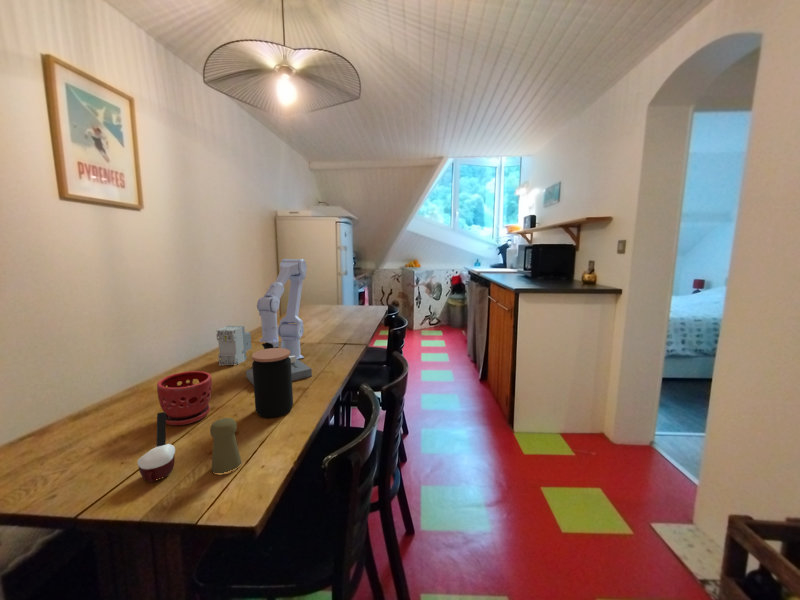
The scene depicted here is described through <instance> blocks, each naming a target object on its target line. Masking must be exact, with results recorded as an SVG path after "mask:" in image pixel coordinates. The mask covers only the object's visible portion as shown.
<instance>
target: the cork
mask: <svg viewBox="0 0 800 600" xmlns="http://www.w3.org/2000/svg"><path fill="white" fill-rule="evenodd" d="M237 426H238V425H237V422H236V420H235V419H234V418H232V417H223V418H220V419H218V420H215V421H214V422H213V423H212V424H211V426H210V428H209V433H210V436H211V437H212V438H213V442H212V443H213V444H212V458H211V459H212V460H211V472H212V471H213V472H214V473H224V472H228V471H230V470H233V469H235V468H237V467H238V466H239V465H240V464H241V462H242V459H241V455H240V450H239V447H238V442H237V439H236V434H235V433H236V432H237ZM241 465H242V464H241Z"/></svg>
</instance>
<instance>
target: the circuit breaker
mask: <svg viewBox="0 0 800 600" xmlns="http://www.w3.org/2000/svg"><path fill="white" fill-rule="evenodd" d="M245 329H246V328H245V326H244V325H243V326H242V325H226V326H224V327H221V328H219V329H216V335H215V336H216V341H217V342H218V352H219V353H218V355H217V357H218V358H217V360H218V362H219V364H218V366H224V365H234V364H235V365H237V364H238V365H240V364H241V362H242V363H244V362H245V361H247V360H248V359H247V358H248V357H247V351H249V350H251V349H252V335H251V334H252V333H251V331H245ZM246 359H247V360H246ZM239 363H240V364H239ZM238 365H237V366H238Z"/></svg>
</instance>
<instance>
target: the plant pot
mask: <svg viewBox="0 0 800 600" xmlns="http://www.w3.org/2000/svg"><path fill="white" fill-rule="evenodd" d="M194 380H198V383H196V384H194V383H193V382H194ZM187 381H189V382H187ZM212 381H213V380H212V374H210V373H209V372H207V371H201V370H193V371H184V372H183V371H182V372H177V373H174V374H169V375H167V376H165V377H163V378H161V379H159V381H158V382H157V384H156V392H157V396H158V403H159V405H160V408H161V410H162V411H163V412H165V413H166V424H168V425H171V426H183V425H188V424H193V423H196V422H198V421H200V420H202V419H203V418H204V417H206V416H207V415H208V414H209V413H210V410H211V406H210V405H209V403H210V401H211V396H212V388H213V387H212V386H213V385H212V384H213V382H212ZM179 382H181V384H180V385H179V384H178V383H179Z"/></svg>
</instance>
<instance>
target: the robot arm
mask: <svg viewBox="0 0 800 600" xmlns="http://www.w3.org/2000/svg"><path fill="white" fill-rule="evenodd" d="M306 263H307V262H306V260H305V259H304V258H300V259H299V258H295V259H294V258H282V260H281V262H280V263H279V268H280V269H279V270H280V271H279V273H278V275H277V277H276V280H275V281H274V282H272V283H270V285H269V287H268V289H267V290H266V292H265V294H264V295H263V296H262V297H259V299H258V300H257V304H256V309H257V311H258V313H259V314H258V315H259V316H260V320H261V321H260V323H261V335H262V336H261V338H260V339H258V341H259V343H261V345H262V347H263V350H264V349H269V348H284V349H288V350H290V356H296V359H298V360H301V359H304V358H305V356H304V355H303V354H301V338H302V337H303V335H304V332H305V329H304V321H303V319H301V318H300V317H299V312H300V306H301V297H302V290H303V282H304V280H305V279H306V278H307V277H306V275H307V268H308V267H307V264H306ZM288 280H289V281H290V285H289V286H290V287H289V293H288V300H287V308H286V315H285V316H283V317H282V318H281V319H280V321H279V324H278V316H277V314H278V313H277V311H278V310H279V309H280V303H281V297H282V296H283V294H284V292H285V284H286V283H287V282H288ZM279 338H280V342H279Z"/></svg>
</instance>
